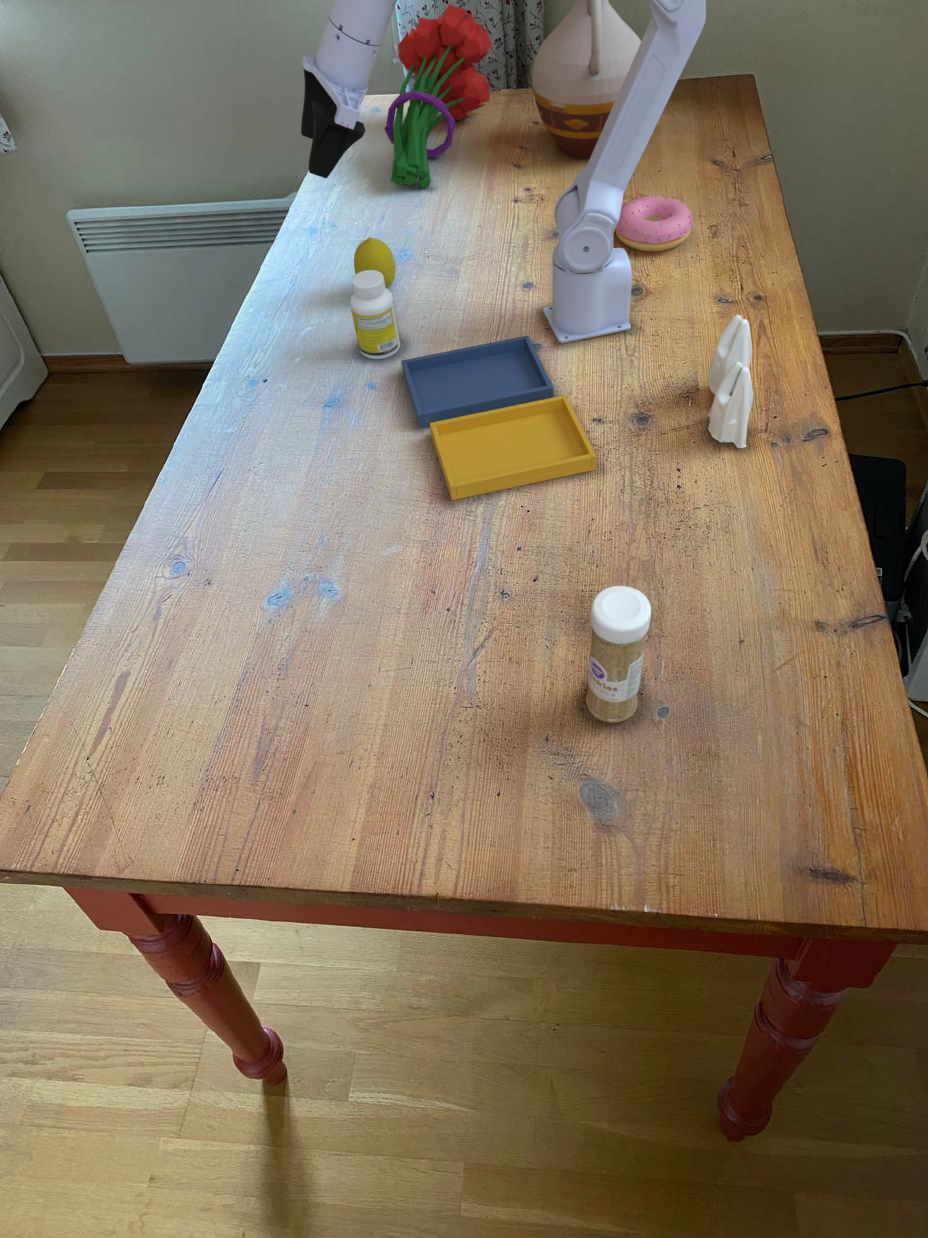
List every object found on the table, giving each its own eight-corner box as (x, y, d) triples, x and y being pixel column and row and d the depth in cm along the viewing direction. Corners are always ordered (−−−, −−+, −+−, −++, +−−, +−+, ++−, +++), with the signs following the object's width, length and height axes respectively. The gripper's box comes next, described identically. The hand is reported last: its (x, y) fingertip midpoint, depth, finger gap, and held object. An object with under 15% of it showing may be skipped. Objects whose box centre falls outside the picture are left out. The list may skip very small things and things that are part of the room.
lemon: (393, 305, 121) (384, 249, 115) (354, 303, 122) (344, 248, 116) (403, 283, 124) (395, 227, 118) (365, 281, 125) (355, 226, 119)
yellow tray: (566, 408, 104) (566, 394, 103) (595, 469, 97) (596, 455, 96) (431, 436, 103) (429, 422, 101) (451, 500, 96) (450, 486, 94)
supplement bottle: (368, 334, 117) (355, 264, 110) (406, 338, 116) (396, 268, 108) (353, 358, 114) (338, 288, 106) (392, 362, 113) (381, 292, 105)
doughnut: (669, 211, 131) (672, 182, 128) (705, 245, 124) (709, 216, 121) (601, 228, 130) (602, 199, 126) (633, 263, 123) (636, 234, 120)
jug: (649, 173, 139) (669, -61, 116) (535, 181, 140) (532, -49, 117) (636, 119, 151) (651, -102, 128) (531, 127, 153) (527, -90, 129)
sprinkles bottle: (575, 707, 78) (579, 610, 68) (605, 673, 80) (613, 574, 70) (619, 734, 76) (630, 638, 66) (648, 699, 78) (663, 600, 68)
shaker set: (705, 380, 105) (719, 296, 97) (742, 381, 105) (759, 296, 96) (707, 447, 98) (722, 361, 90) (746, 448, 97) (765, 363, 89)
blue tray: (528, 348, 112) (528, 334, 111) (553, 401, 105) (553, 387, 104) (403, 373, 111) (401, 360, 109) (420, 428, 104) (418, 414, 102)
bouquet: (374, 225, 148) (412, 109, 161) (470, 228, 145) (501, 109, 157) (345, 113, 131) (391, -8, 143) (454, 114, 127) (491, -10, 140)
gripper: (309, -20, 91) (272, 108, 101) (326, 47, 84) (285, 179, 93) (372, 8, 95) (331, 129, 104) (395, 75, 87) (348, 200, 97)
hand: (313, 154), depth 99 cm, fingers open, 7 cm apart
